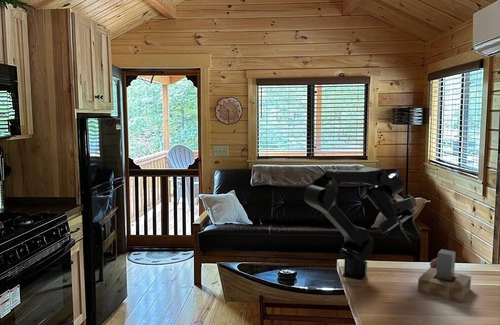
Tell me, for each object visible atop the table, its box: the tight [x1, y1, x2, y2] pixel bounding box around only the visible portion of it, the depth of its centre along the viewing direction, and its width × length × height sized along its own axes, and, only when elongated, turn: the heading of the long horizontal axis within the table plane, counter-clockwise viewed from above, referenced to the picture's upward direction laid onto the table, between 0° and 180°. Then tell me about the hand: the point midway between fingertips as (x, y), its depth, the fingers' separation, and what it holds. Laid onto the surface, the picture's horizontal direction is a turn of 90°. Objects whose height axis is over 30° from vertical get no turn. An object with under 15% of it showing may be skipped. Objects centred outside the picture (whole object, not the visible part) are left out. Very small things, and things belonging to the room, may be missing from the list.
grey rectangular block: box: [436, 248, 457, 283], centre depth 132 cm, size 4×4×12 cm
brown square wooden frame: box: [417, 266, 472, 304], centre depth 133 cm, size 12×12×4 cm
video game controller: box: [429, 256, 438, 268], centre depth 148 cm, size 10×5×7 cm, turn 169°
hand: (414, 241), depth 140 cm, fingers open, 9 cm apart
